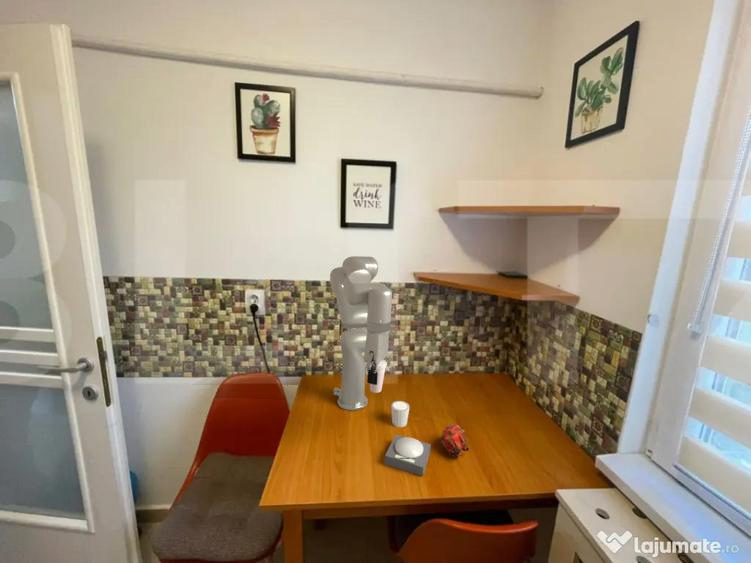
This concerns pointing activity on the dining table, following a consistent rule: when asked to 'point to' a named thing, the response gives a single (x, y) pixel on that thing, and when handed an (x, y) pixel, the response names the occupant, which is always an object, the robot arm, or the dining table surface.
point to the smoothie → (379, 377)
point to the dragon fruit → (454, 440)
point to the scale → (408, 454)
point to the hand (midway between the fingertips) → (376, 378)
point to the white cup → (400, 413)
